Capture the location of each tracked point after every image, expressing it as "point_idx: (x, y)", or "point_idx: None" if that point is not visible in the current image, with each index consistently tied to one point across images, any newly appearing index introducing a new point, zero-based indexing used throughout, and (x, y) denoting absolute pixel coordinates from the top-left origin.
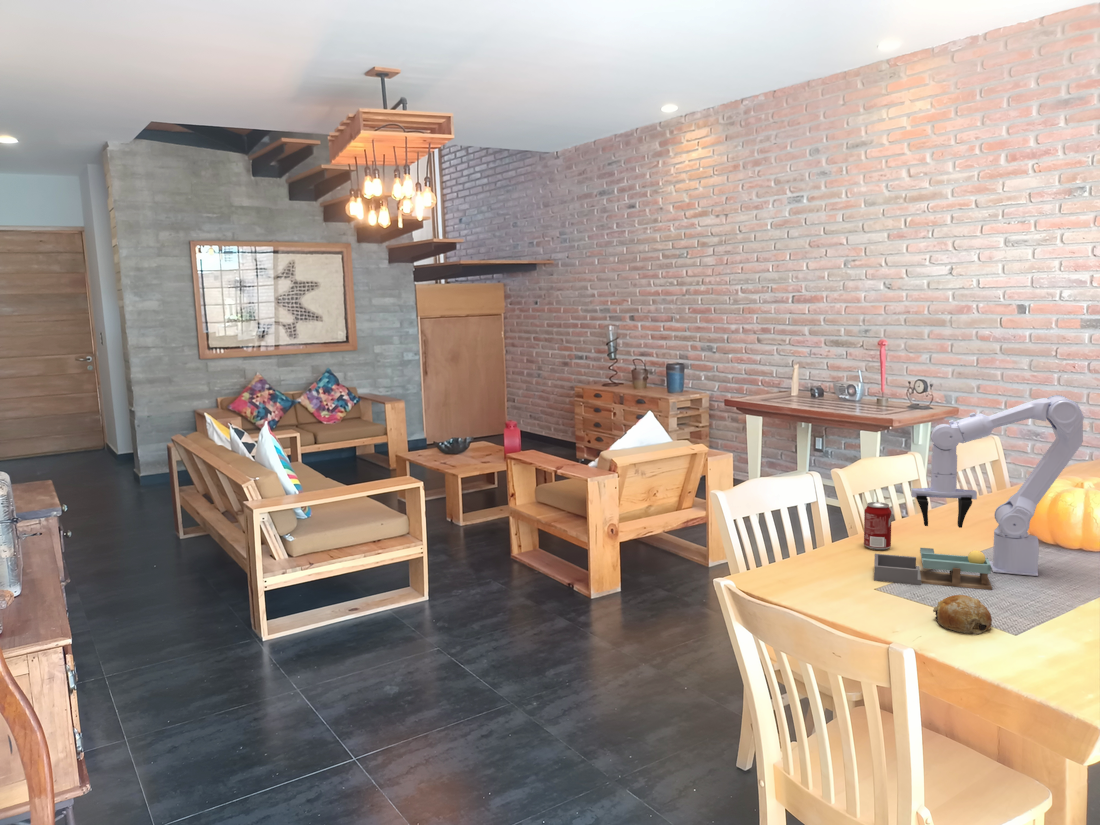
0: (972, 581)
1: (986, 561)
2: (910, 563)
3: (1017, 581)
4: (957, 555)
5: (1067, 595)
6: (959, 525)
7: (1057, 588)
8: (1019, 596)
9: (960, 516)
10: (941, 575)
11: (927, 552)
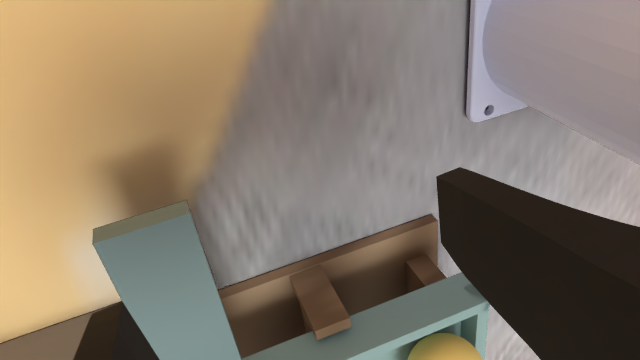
0: None
1: (475, 347)
2: None
3: (529, 176)
4: (360, 352)
5: (626, 223)
6: (457, 260)
7: (627, 174)
8: (498, 314)
9: (529, 345)
10: (260, 323)
11: (177, 313)
